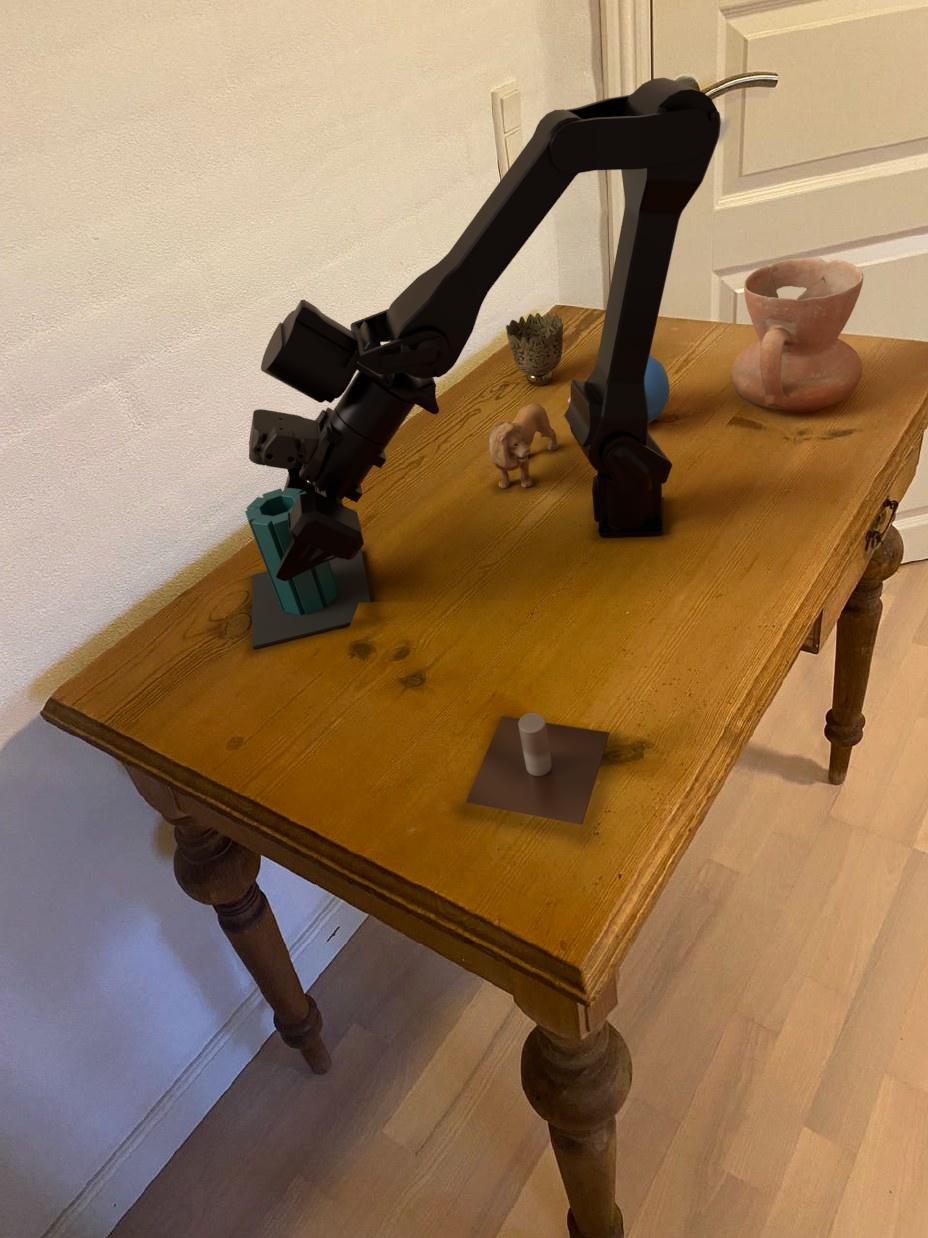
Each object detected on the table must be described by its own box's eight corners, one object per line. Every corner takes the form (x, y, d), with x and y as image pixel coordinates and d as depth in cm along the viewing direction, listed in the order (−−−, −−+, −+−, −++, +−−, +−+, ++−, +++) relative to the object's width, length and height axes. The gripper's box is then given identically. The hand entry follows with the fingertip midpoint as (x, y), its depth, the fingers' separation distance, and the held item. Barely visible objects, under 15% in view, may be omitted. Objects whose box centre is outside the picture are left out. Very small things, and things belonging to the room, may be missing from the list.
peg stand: (503, 723, 74) (493, 672, 70) (610, 740, 70) (606, 687, 67) (467, 810, 68) (453, 759, 64) (582, 833, 64) (576, 780, 60)
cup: (570, 389, 116) (564, 331, 111) (514, 397, 117) (506, 339, 112) (566, 365, 122) (560, 308, 117) (512, 372, 123) (505, 316, 118)
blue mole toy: (563, 410, 113) (557, 347, 107) (656, 393, 112) (655, 329, 107) (579, 457, 103) (573, 391, 98) (681, 439, 103) (681, 371, 97)
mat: (362, 551, 96) (361, 548, 96) (374, 619, 87) (373, 616, 87) (253, 577, 95) (252, 575, 95) (253, 649, 86) (252, 646, 86)
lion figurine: (534, 507, 97) (524, 434, 91) (487, 505, 99) (475, 433, 93) (563, 438, 107) (556, 368, 102) (520, 437, 109) (511, 369, 103)
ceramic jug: (764, 356, 115) (771, 244, 106) (880, 373, 107) (898, 253, 98) (699, 421, 105) (701, 304, 96) (822, 445, 97) (836, 319, 88)
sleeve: (343, 601, 89) (314, 510, 82) (286, 622, 88) (251, 531, 81) (330, 570, 94) (301, 481, 87) (275, 589, 93) (241, 500, 86)
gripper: (279, 340, 84) (205, 468, 90) (286, 429, 69) (196, 574, 76) (379, 397, 89) (302, 514, 96) (404, 491, 75) (311, 621, 81)
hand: (278, 551), depth 87 cm, fingers open, 9 cm apart
